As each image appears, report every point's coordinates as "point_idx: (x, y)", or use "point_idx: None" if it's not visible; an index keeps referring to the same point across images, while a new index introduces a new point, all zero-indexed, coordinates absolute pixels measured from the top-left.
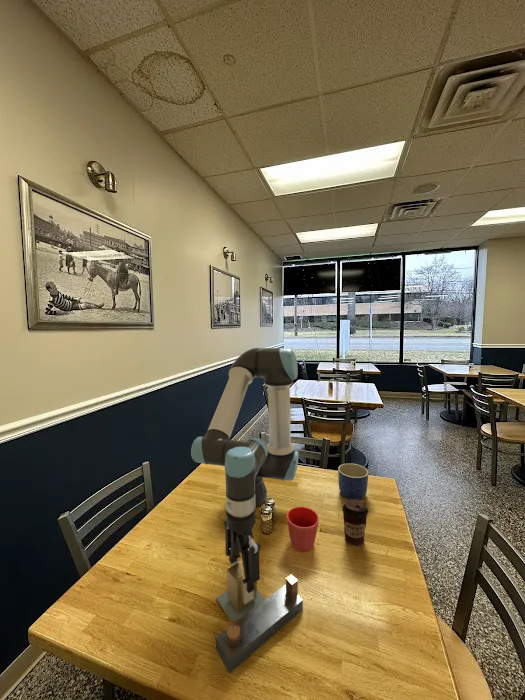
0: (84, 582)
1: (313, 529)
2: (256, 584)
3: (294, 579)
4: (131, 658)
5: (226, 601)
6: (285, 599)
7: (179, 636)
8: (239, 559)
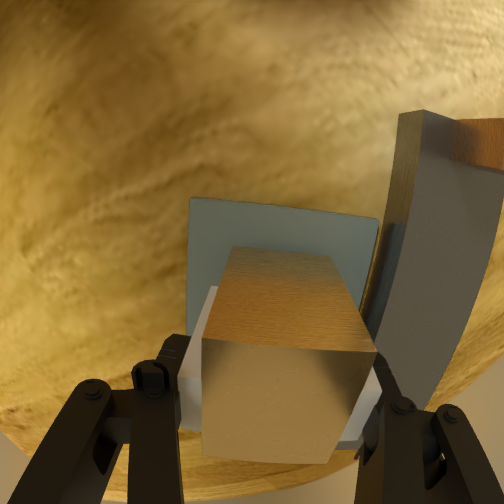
0: (17, 445)
1: None
2: (348, 291)
3: None
4: (200, 491)
5: None
6: (467, 195)
7: None
8: (181, 378)
